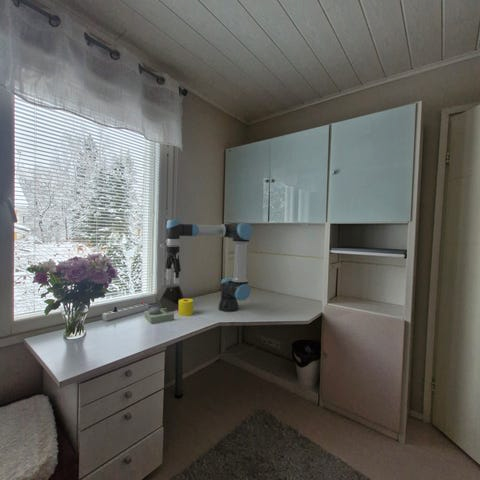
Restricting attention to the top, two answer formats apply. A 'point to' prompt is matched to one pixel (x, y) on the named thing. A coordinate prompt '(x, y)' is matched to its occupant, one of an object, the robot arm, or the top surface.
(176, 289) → the planter
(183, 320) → the top surface
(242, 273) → the robot arm
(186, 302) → the yellow cylinder with hole
